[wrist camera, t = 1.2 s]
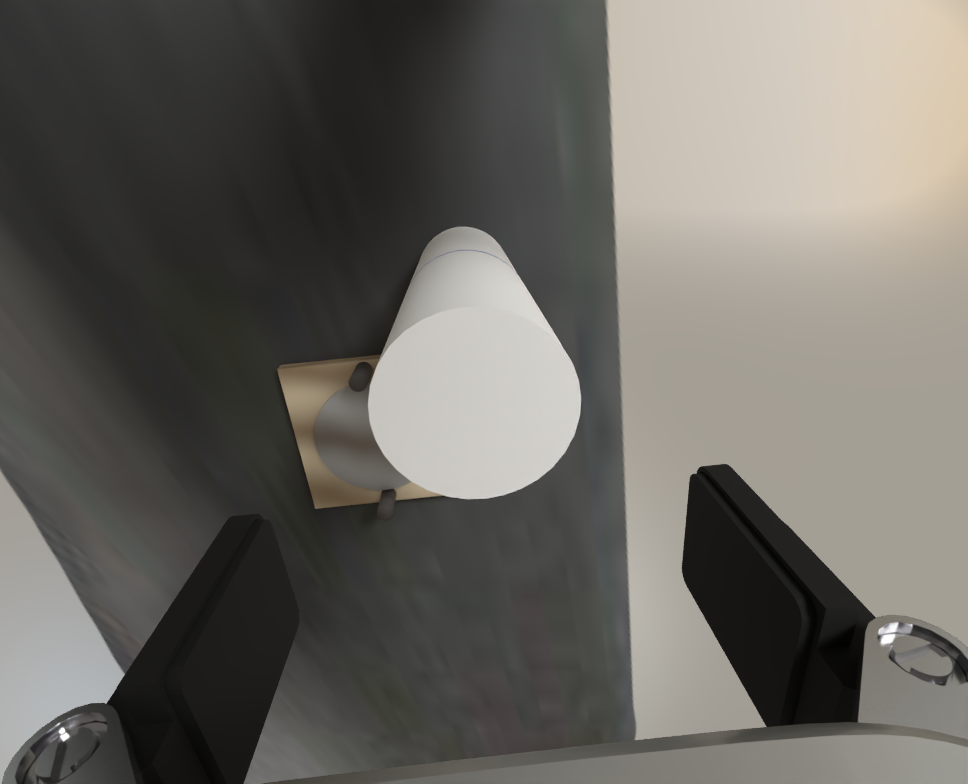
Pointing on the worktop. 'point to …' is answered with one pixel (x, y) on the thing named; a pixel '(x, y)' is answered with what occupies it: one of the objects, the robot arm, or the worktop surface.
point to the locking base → (342, 435)
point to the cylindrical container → (472, 376)
